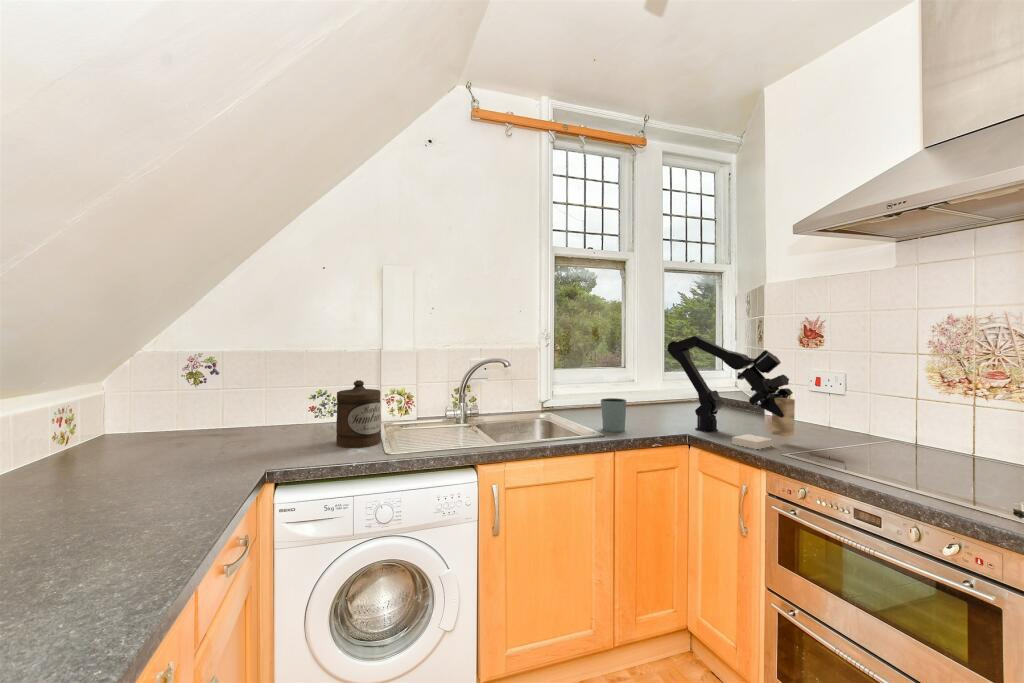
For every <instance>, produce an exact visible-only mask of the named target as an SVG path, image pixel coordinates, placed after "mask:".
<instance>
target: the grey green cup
mask: <svg viewBox="0 0 1024 683" xmlns="http://www.w3.org/2000/svg"><path fill="white" fill-rule="evenodd" d="M600 405H601V406H600V407H601V419H602V430H603V431H606V432H612V433H614V432H615V433H621V431H622V432H624V431H626V413H627V412H626V410H627V399H625V398H617V397H616V398H614V397H612V398H611V397H609V398H608V397H607V398H601V399H600Z"/></svg>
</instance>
